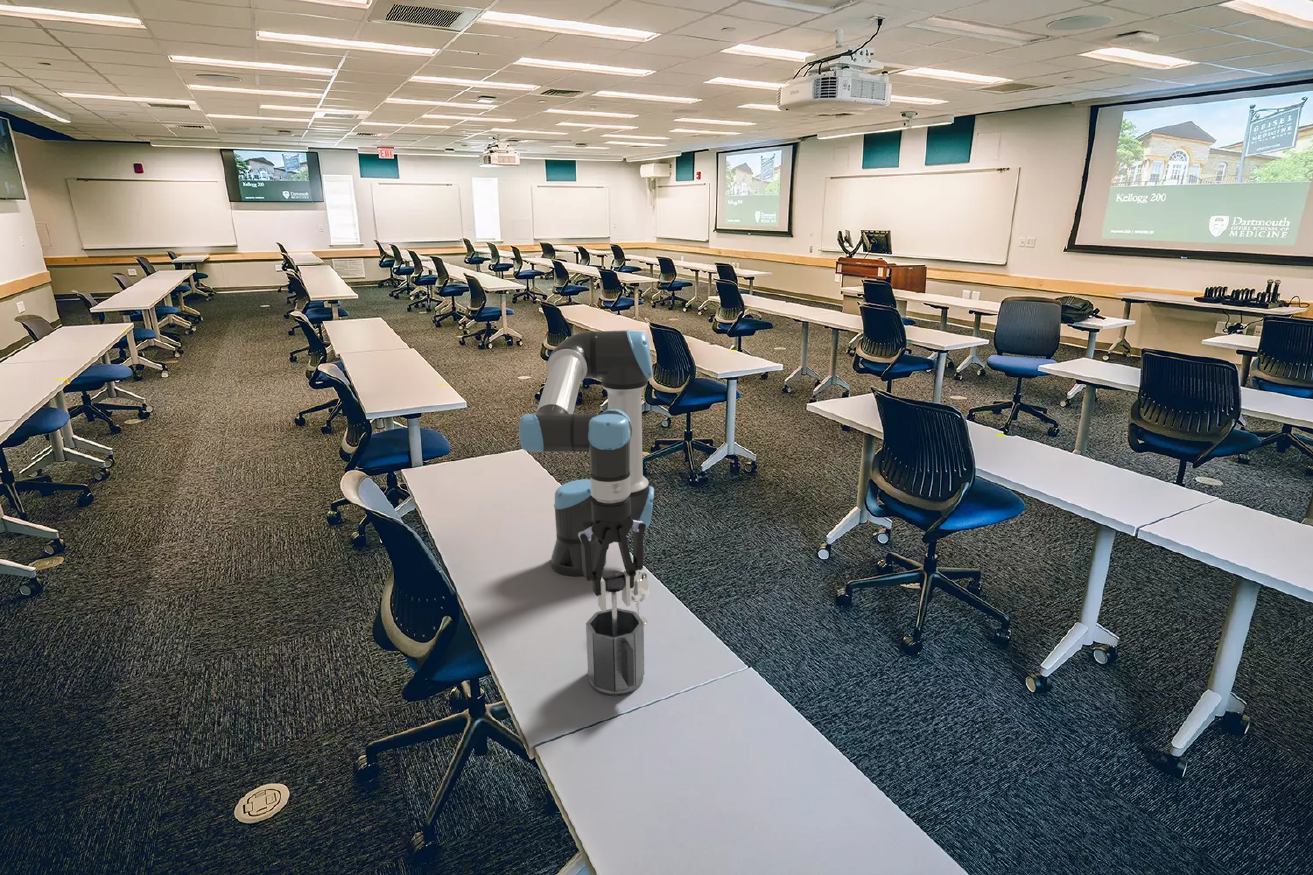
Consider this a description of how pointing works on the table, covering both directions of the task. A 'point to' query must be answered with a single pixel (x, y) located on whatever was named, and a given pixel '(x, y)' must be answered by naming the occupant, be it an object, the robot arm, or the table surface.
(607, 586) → the plunger
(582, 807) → the table surface
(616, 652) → the octagonal container
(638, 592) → the wineglass
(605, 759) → the table surface
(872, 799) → the table surface
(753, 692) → the table surface
